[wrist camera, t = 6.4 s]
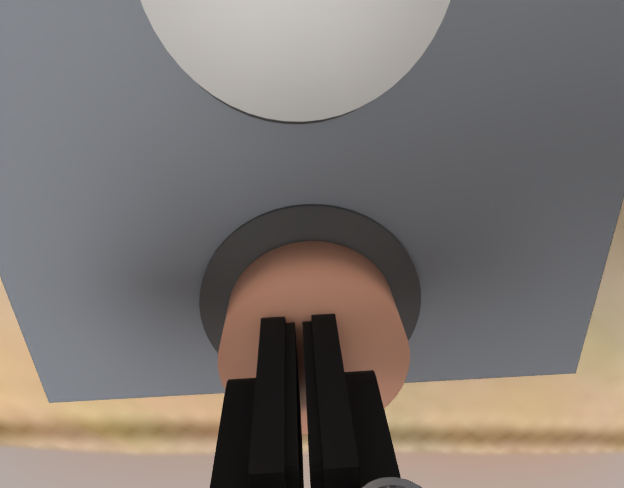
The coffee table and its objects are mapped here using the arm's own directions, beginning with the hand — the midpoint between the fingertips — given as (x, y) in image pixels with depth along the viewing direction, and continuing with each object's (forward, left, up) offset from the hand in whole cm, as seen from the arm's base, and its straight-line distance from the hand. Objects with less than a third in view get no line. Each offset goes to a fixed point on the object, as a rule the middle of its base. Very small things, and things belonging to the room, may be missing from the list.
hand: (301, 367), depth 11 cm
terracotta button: (0, 0, -2) cm, 2 cm away
